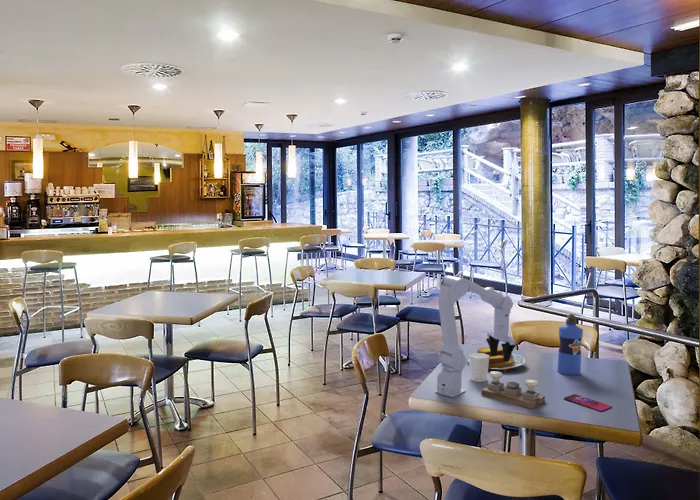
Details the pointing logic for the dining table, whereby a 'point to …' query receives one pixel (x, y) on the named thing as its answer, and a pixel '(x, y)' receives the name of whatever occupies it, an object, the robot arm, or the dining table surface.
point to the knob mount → (513, 394)
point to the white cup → (478, 366)
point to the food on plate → (501, 359)
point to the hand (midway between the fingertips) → (500, 358)
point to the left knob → (496, 375)
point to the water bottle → (570, 347)
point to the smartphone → (587, 402)
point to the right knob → (531, 384)
